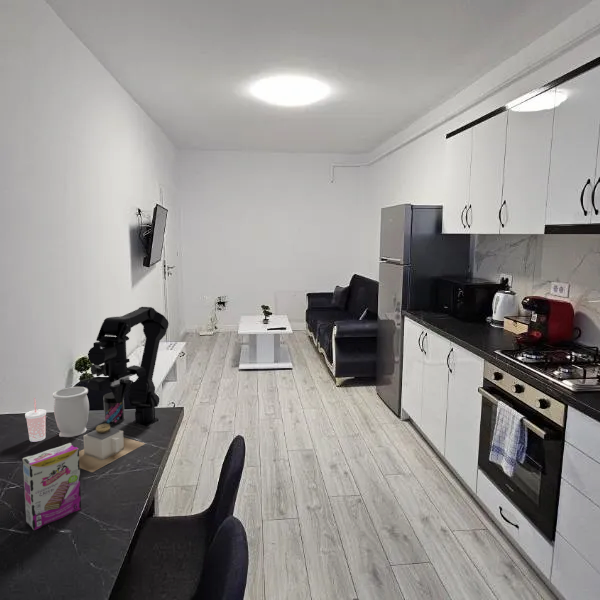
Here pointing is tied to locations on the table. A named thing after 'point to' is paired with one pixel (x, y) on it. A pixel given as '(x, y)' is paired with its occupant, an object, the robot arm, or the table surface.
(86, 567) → the table surface
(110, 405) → the supplement container
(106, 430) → the gold push button
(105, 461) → the serving board
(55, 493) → the candy bar box
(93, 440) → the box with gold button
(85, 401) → the jar
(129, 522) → the table surface
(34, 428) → the beverage cup
